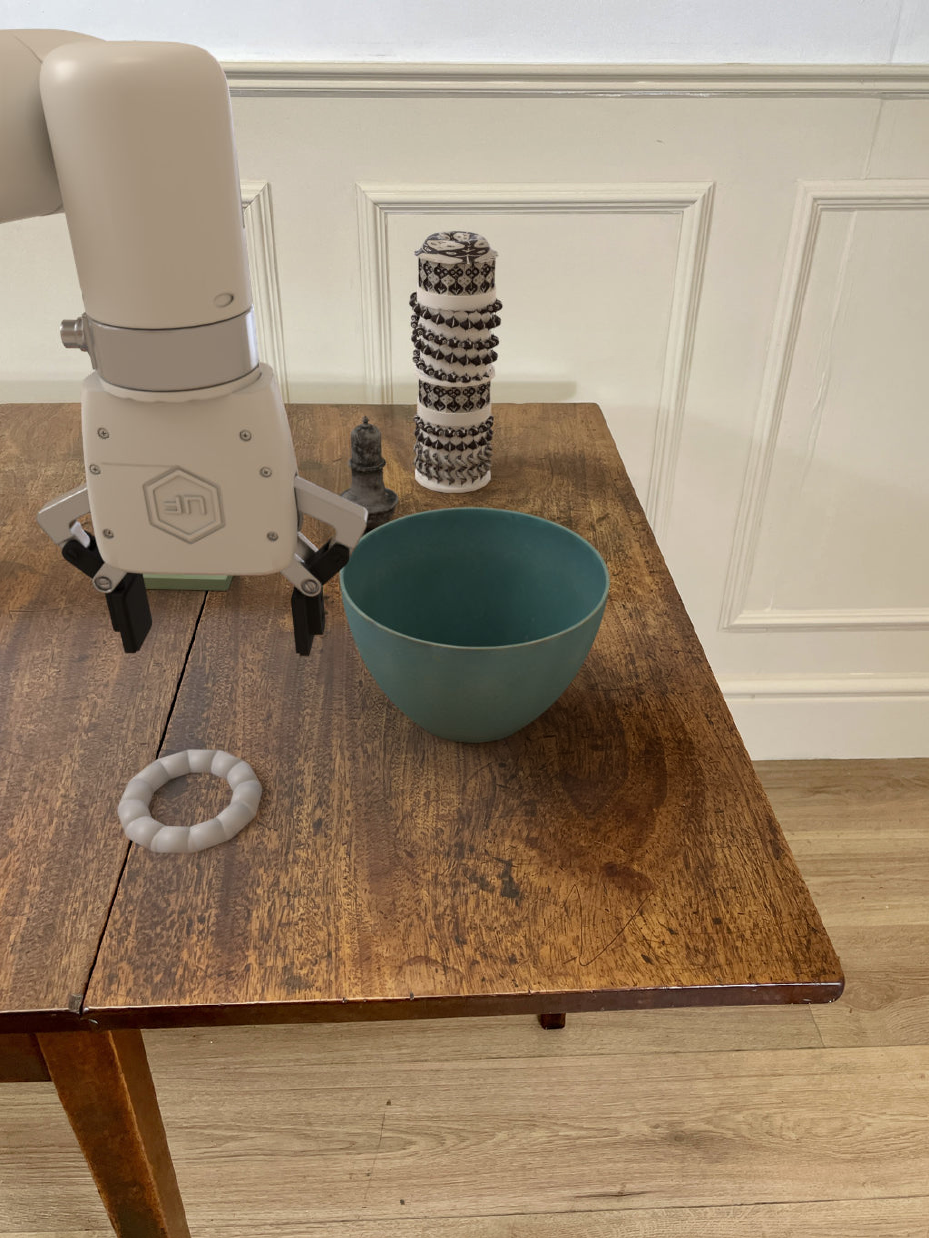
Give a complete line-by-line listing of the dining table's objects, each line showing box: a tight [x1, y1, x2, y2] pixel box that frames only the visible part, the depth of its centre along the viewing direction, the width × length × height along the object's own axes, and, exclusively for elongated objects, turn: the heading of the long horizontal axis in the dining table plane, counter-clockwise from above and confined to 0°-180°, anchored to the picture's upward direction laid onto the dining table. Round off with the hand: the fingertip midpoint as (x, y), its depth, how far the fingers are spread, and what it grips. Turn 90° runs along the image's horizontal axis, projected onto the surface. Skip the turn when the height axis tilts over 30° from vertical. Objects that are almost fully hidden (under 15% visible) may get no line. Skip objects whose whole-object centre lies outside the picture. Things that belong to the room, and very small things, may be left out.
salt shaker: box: [339, 415, 399, 537], centre depth 89 cm, size 6×6×12 cm
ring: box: [116, 748, 263, 854], centre depth 61 cm, size 9×9×2 cm
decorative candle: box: [408, 230, 504, 494], centre depth 97 cm, size 9×9×25 cm
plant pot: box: [338, 506, 611, 744], centre depth 67 cm, size 18×18×12 cm
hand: (223, 640), depth 54 cm, fingers open, 9 cm apart
